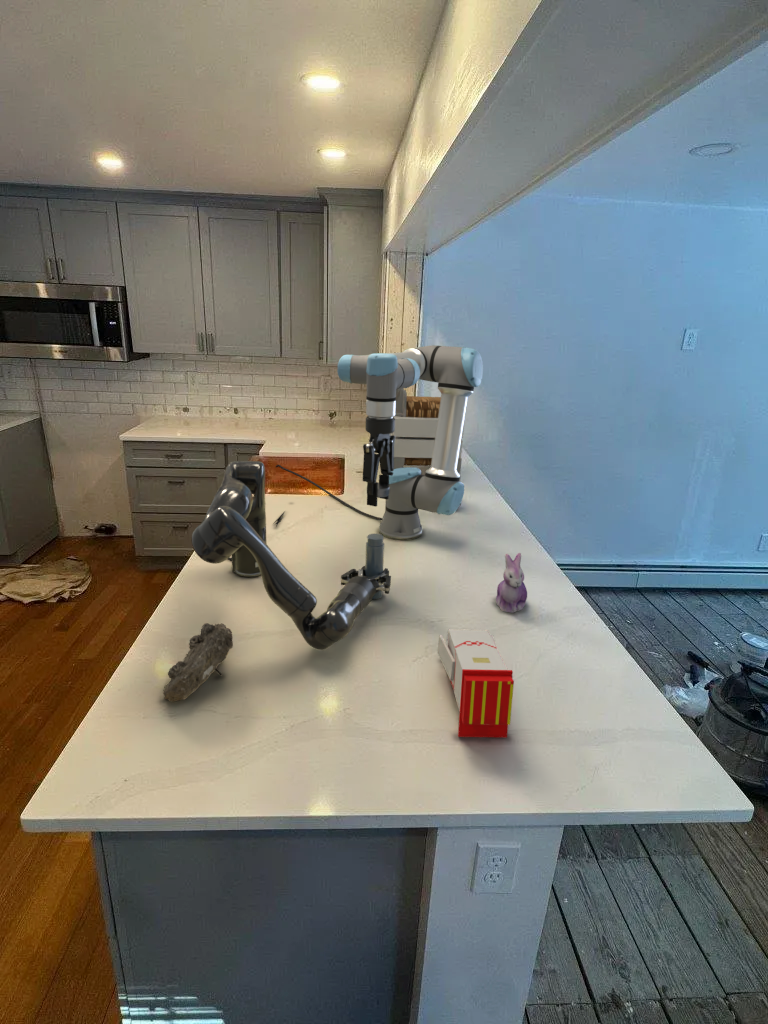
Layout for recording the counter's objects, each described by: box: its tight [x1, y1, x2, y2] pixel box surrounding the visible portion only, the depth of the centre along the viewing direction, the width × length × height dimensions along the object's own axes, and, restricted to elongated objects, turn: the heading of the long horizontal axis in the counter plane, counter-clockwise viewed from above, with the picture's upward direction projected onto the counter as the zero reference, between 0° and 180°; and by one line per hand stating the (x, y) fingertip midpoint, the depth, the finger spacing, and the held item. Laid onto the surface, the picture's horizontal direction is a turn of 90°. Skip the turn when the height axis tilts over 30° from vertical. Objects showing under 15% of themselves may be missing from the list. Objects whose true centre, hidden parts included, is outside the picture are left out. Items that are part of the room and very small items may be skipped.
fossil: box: [162, 622, 234, 703], centre depth 119 cm, size 22×10×15 cm
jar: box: [364, 533, 385, 600], centre depth 154 cm, size 5×5×18 cm
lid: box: [377, 482, 390, 499], centre depth 152 cm, size 6×6×2 cm
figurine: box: [495, 552, 528, 614], centre depth 152 cm, size 9×10×15 cm
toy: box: [437, 628, 515, 738], centre depth 117 cm, size 12×13×30 cm
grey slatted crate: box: [390, 388, 465, 482], centre depth 268 cm, size 34×33×41 cm
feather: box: [272, 510, 286, 528], centre depth 212 cm, size 2×28×2 cm
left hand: (377, 569), depth 157 cm, fingers closed on jar, 5 cm apart
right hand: (377, 501), depth 153 cm, fingers closed on lid, 6 cm apart
